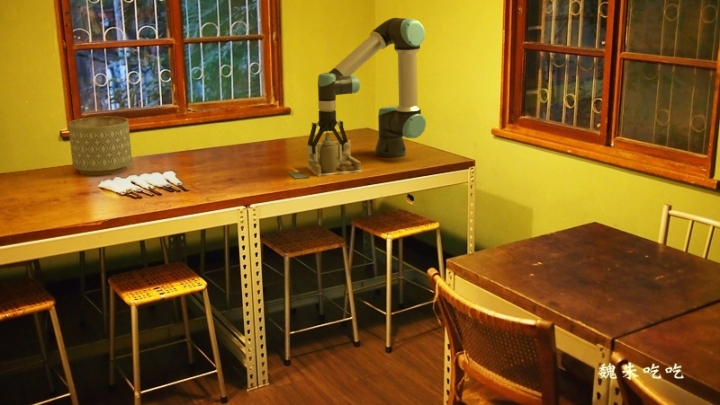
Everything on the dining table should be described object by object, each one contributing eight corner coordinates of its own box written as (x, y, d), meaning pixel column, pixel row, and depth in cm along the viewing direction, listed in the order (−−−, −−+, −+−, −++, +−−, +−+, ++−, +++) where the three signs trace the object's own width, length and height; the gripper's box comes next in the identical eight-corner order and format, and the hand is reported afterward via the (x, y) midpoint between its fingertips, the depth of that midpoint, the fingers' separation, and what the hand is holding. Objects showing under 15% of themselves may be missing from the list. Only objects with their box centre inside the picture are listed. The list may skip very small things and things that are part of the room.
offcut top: (349, 164, 356) (349, 160, 355) (351, 166, 351) (351, 163, 350) (340, 164, 355) (340, 161, 354) (342, 167, 350) (342, 163, 350)
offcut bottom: (349, 170, 357) (349, 167, 357) (354, 173, 352) (354, 170, 351) (339, 171, 355) (339, 168, 355) (343, 174, 350) (343, 171, 350)
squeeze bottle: (335, 175, 346) (334, 134, 341) (317, 174, 347) (316, 134, 342) (339, 171, 353) (338, 131, 348) (321, 170, 355) (320, 130, 350)
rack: (349, 166, 362) (349, 140, 359) (362, 174, 348) (362, 147, 344) (307, 170, 355) (307, 143, 352) (319, 178, 341) (318, 151, 337)
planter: (63, 170, 357) (57, 122, 351) (113, 161, 375) (109, 114, 368) (91, 180, 340) (86, 129, 334) (143, 169, 358) (139, 120, 352)
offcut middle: (349, 167, 356) (349, 163, 356) (353, 169, 352) (353, 166, 351) (338, 168, 355) (338, 164, 354) (343, 170, 350) (343, 167, 349)
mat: (308, 171, 353) (308, 170, 353) (316, 177, 343) (316, 176, 343) (288, 173, 350) (288, 172, 349) (295, 179, 340) (295, 178, 340)
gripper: (349, 106, 350) (349, 155, 356) (299, 110, 342) (300, 160, 348) (355, 109, 343) (355, 159, 349) (304, 113, 335) (305, 164, 341)
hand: (328, 159), depth 349 cm, fingers open, 10 cm apart
